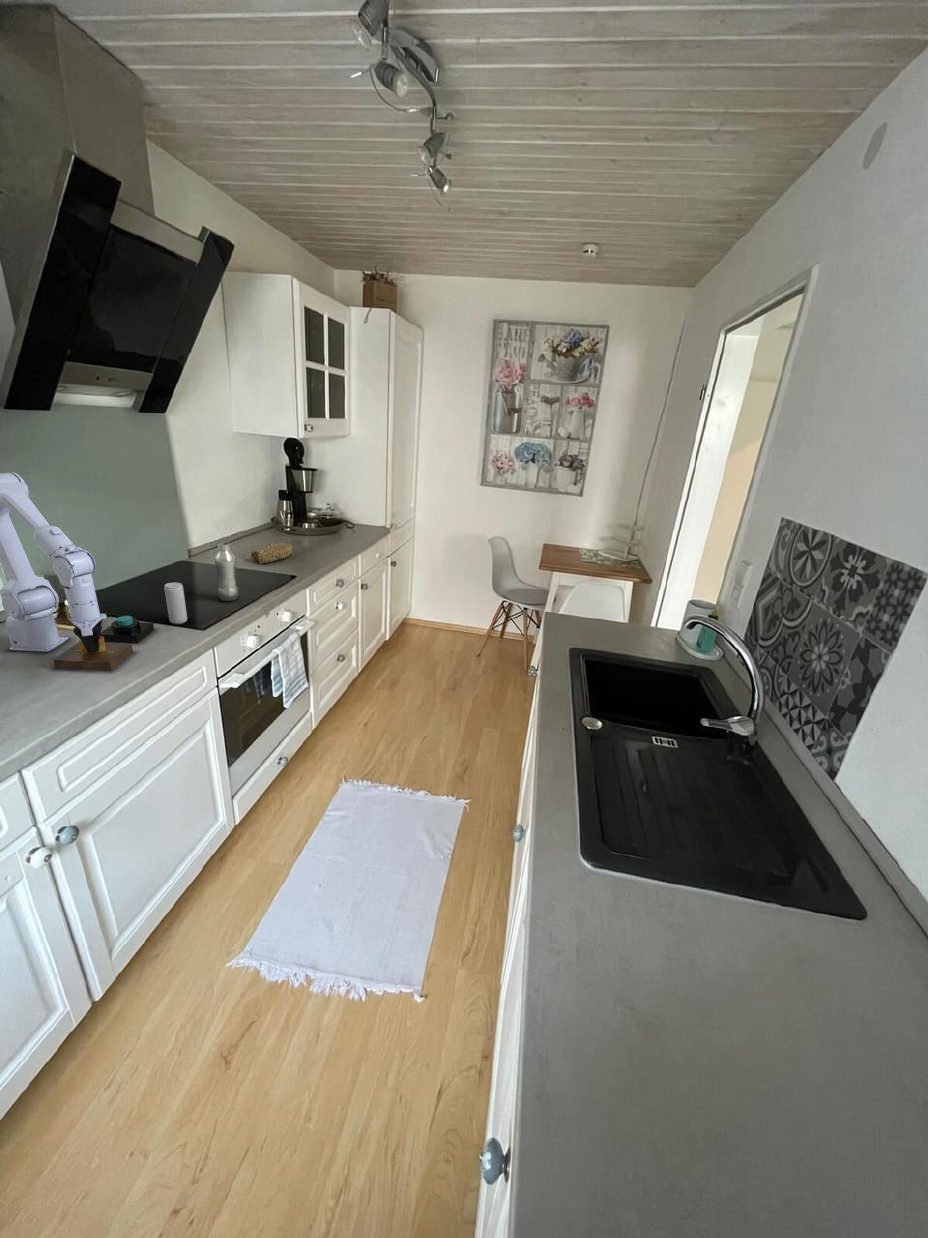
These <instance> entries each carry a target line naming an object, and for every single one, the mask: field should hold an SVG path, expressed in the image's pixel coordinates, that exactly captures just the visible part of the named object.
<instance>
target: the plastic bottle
mask: <svg viewBox="0 0 928 1238" xmlns="http://www.w3.org/2000/svg"><path fill="white" fill-rule="evenodd" d="M217 550H218V551H217V553H216V554H215V556H214V563H215V567H216V573H217V579H218V581H217V582H218V583H217V585H218V586H217V596H218V598H219V600H220V601H223V602H232V601H236V600H237V599H238V597H239V594H240V593H239V591H240V590H239V588H238V584H237V577H236V564H237V559H236V556H235V554H234V553H233V552H232V551H231V543H230V542H227V541H226V542H225V541H222V542H218V543H217Z"/></svg>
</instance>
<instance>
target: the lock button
mask: <svg viewBox="0 0 928 1238" xmlns="http://www.w3.org/2000/svg"><path fill="white" fill-rule="evenodd" d="M132 618H133V616H131V615H122V616H119V617H117V618H116V620H117V623H118V625H119V626H126V625H131V624H133V619H132Z"/></svg>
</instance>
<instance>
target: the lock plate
mask: <svg viewBox="0 0 928 1238" xmlns="http://www.w3.org/2000/svg"><path fill="white" fill-rule="evenodd" d="M105 647H106V651H103V652H97V653H90V654H84V655H82V654H81V650H80V646H79V641H78V642H76V643H75V644H74V645H73V646H71V647H69V648H68V649H67V650H65V651H64V652H62V653H61V654H60V655H58V656H57V657H55V658H54V659H52V661H53V666H54V669H55V670H75V671H77V670H78V671H99V672H100V671H103V672H113V671H114V670H115V669H116V668H117V667H119V665H120V664H122V663H123V662H125V660H126V659H128V658H129V657H130V656H131V655H132V654H134V649H133V645H132V643H111V642H109V643H108V642H105Z"/></svg>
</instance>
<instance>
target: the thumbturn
mask: <svg viewBox="0 0 928 1238" xmlns="http://www.w3.org/2000/svg"><path fill="white" fill-rule="evenodd" d="M78 642H79V646H80V650H81V654H82V655H84V654H90V653H88V651H87V650H86V648H85V646H84V644H83V642H82V641H81V639H78ZM105 643H106V642H104V638H103V637H102V636H99V651H98V652H103V651H106V647H105ZM93 653H97V652H93Z"/></svg>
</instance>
